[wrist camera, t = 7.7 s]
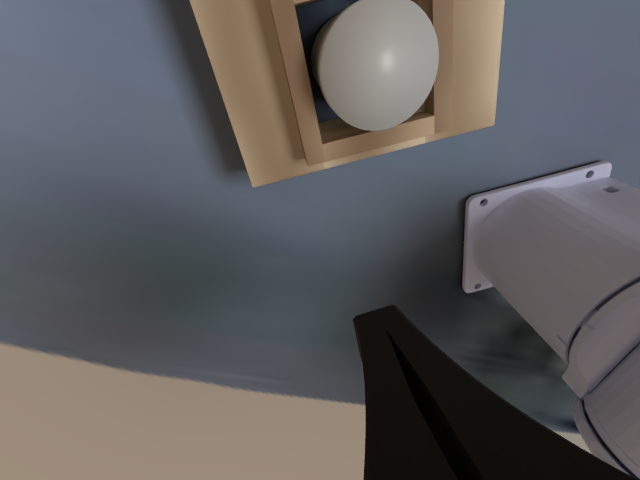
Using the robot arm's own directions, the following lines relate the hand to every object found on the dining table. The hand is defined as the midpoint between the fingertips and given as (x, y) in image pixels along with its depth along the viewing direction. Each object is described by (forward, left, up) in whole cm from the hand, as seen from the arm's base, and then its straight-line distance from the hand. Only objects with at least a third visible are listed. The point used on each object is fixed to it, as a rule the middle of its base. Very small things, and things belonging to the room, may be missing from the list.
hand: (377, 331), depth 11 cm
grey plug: (-3, -7, -10) cm, 12 cm away
